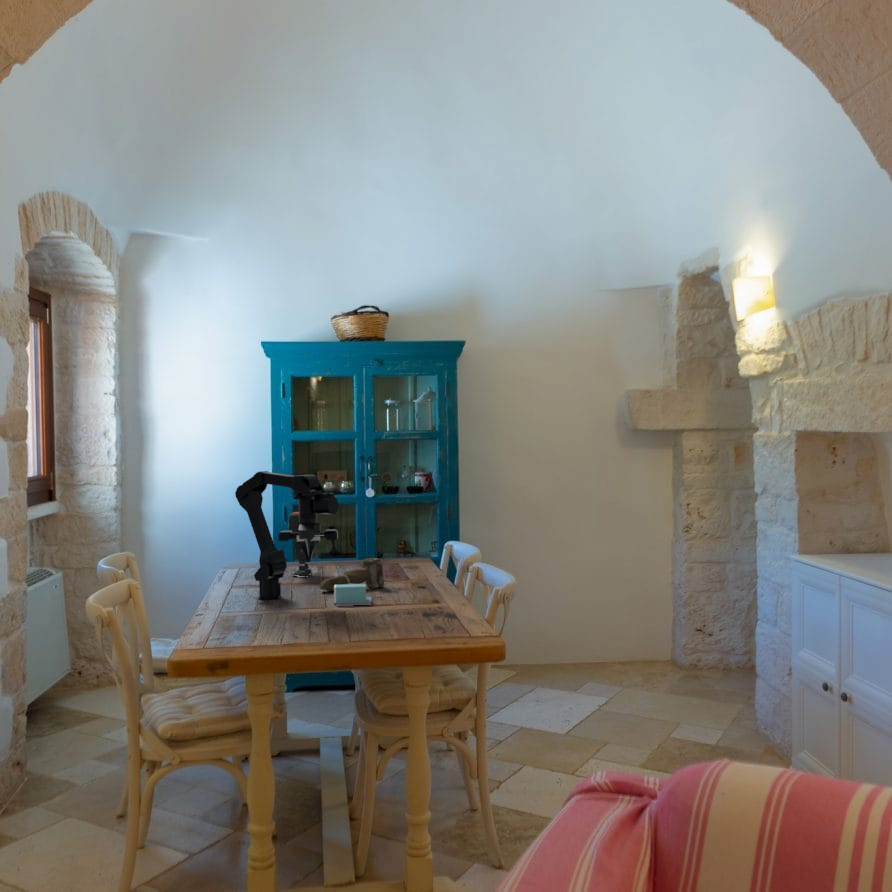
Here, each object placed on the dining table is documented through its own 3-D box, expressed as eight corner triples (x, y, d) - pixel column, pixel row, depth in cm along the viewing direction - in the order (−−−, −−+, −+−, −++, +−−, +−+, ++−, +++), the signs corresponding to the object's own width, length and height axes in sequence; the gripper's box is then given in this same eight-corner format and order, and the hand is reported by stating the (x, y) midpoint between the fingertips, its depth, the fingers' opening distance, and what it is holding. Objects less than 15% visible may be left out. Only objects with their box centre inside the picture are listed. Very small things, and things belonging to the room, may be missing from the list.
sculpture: (340, 617, 293) (315, 585, 290) (386, 575, 302) (362, 543, 298) (347, 620, 287) (321, 587, 283) (394, 577, 295) (370, 545, 291)
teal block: (333, 587, 266) (365, 586, 267) (334, 584, 271) (365, 583, 272) (334, 603, 266) (365, 602, 267) (334, 600, 271) (365, 599, 272)
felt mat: (336, 606, 263) (336, 605, 263) (338, 599, 275) (338, 597, 275) (371, 605, 264) (371, 604, 264) (371, 598, 276) (371, 596, 276)
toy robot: (297, 570, 334) (296, 495, 333) (320, 570, 333) (318, 495, 333) (284, 580, 312) (283, 500, 311) (309, 580, 311) (307, 499, 311)
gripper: (275, 516, 262) (276, 566, 262) (335, 515, 263) (336, 564, 264) (279, 513, 273) (280, 561, 273) (337, 512, 274) (338, 559, 275)
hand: (309, 561), depth 271 cm, fingers closed
